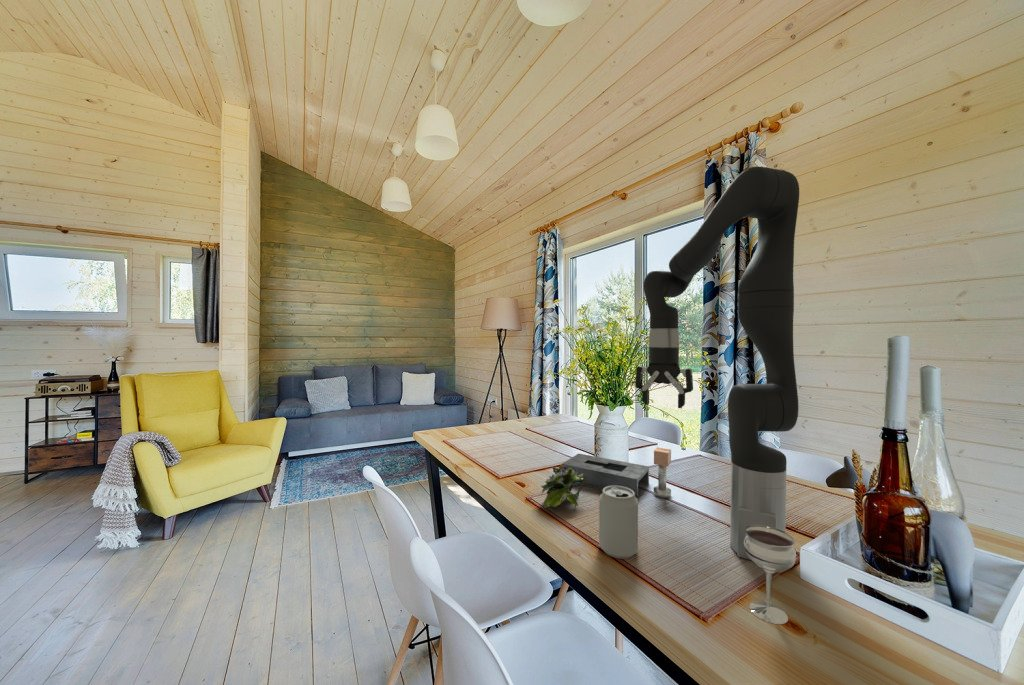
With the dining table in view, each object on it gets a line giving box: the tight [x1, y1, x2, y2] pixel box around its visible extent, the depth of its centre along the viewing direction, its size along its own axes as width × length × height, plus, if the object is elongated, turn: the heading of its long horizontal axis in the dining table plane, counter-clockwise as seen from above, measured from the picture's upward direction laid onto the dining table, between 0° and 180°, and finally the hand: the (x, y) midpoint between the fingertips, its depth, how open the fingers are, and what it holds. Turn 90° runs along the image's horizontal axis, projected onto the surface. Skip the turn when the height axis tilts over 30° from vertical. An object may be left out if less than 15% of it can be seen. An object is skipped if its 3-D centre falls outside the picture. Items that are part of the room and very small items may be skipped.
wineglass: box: [744, 525, 797, 625], centre depth 60 cm, size 7×7×12 cm
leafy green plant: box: [540, 465, 587, 511], centre depth 98 cm, size 11×11×12 cm
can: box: [598, 486, 639, 560], centre depth 77 cm, size 8×8×12 cm
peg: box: [653, 447, 672, 499], centre depth 104 cm, size 4×4×12 cm
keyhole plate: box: [561, 453, 650, 499], centre depth 113 cm, size 12×22×5 cm, turn 56°
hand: (663, 406), depth 103 cm, fingers open, 8 cm apart
